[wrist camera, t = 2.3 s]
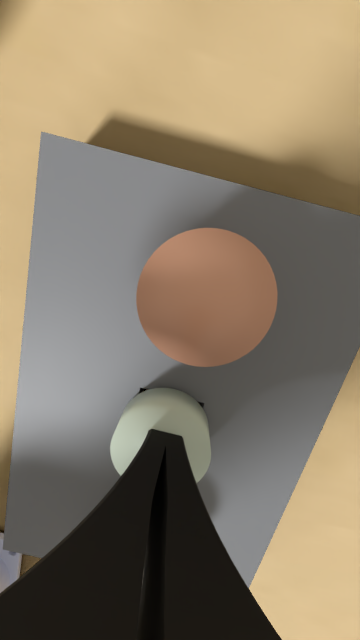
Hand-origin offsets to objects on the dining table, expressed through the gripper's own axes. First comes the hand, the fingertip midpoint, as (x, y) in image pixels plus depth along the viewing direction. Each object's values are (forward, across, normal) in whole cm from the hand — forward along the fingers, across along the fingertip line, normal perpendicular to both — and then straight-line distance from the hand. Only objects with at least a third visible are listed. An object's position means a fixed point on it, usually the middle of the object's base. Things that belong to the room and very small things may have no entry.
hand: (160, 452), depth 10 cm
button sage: (+3, 0, 0) cm, 3 cm away
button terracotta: (+2, 0, -7) cm, 7 cm away
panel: (+4, 0, 0) cm, 4 cm away
